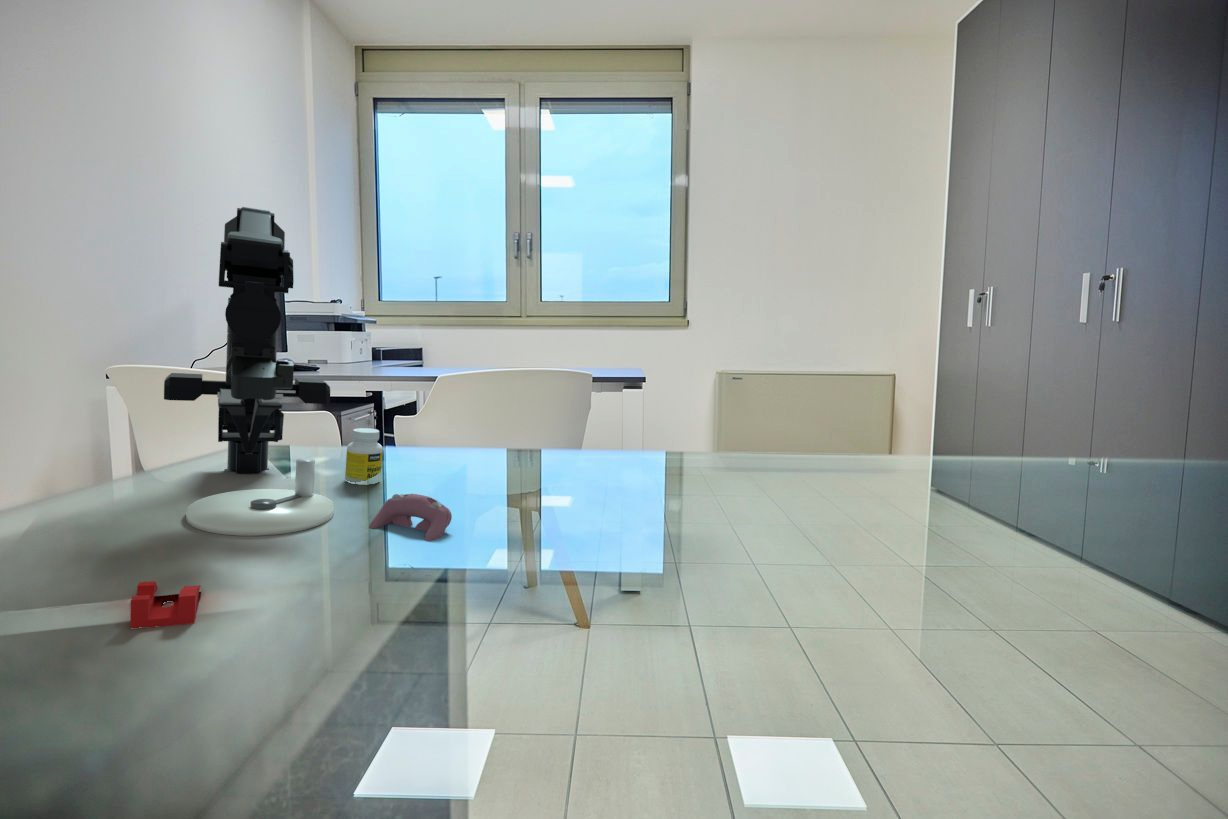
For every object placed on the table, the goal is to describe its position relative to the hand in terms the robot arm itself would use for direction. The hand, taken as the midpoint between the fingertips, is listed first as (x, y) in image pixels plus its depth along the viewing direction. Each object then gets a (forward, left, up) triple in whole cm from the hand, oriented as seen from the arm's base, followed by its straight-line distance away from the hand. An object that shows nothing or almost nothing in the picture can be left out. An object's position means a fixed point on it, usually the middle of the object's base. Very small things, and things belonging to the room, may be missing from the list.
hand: (248, 453), depth 89 cm
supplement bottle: (-11, +17, -9) cm, 22 cm away
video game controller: (+13, +18, -9) cm, 24 cm away
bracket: (+27, -7, -9) cm, 30 cm away
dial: (+4, +2, -7) cm, 8 cm away
